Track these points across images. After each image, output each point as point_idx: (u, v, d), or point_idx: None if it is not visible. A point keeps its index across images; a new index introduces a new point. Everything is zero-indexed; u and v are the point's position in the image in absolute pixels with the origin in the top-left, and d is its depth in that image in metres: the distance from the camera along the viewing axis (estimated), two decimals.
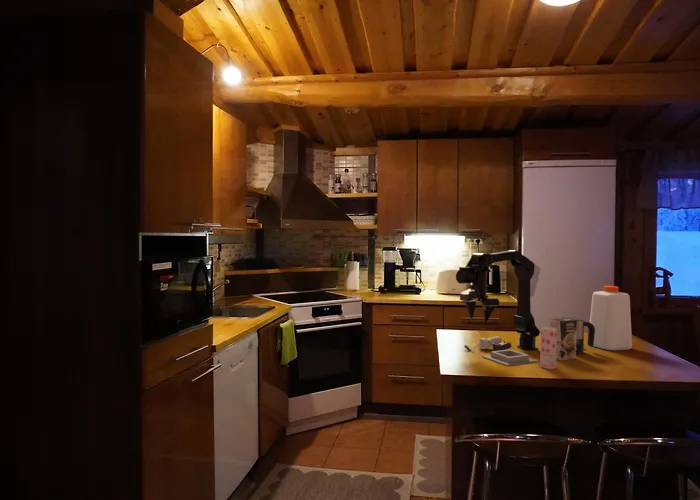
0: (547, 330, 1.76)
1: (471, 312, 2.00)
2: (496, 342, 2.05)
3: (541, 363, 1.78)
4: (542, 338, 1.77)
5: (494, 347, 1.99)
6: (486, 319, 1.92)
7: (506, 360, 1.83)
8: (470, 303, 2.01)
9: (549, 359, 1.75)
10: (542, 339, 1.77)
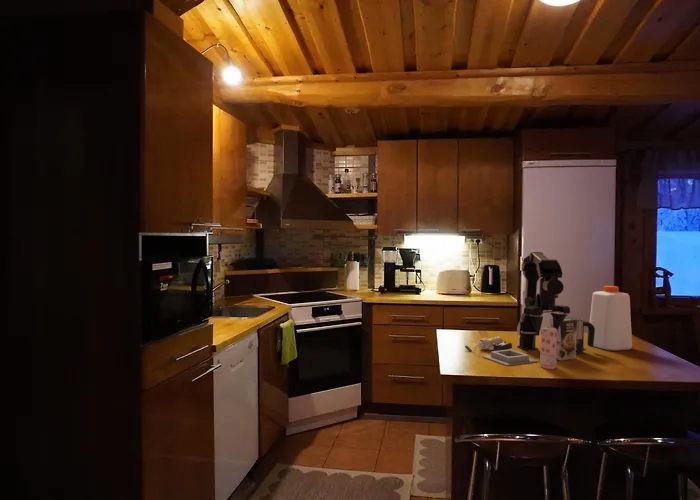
0: (547, 330, 1.76)
1: (554, 325, 1.80)
2: (497, 342, 2.04)
3: (541, 363, 1.78)
4: (542, 338, 1.77)
5: (495, 347, 1.98)
6: (536, 330, 1.76)
7: (506, 360, 1.83)
8: (555, 315, 1.81)
9: (549, 359, 1.75)
10: (542, 339, 1.77)
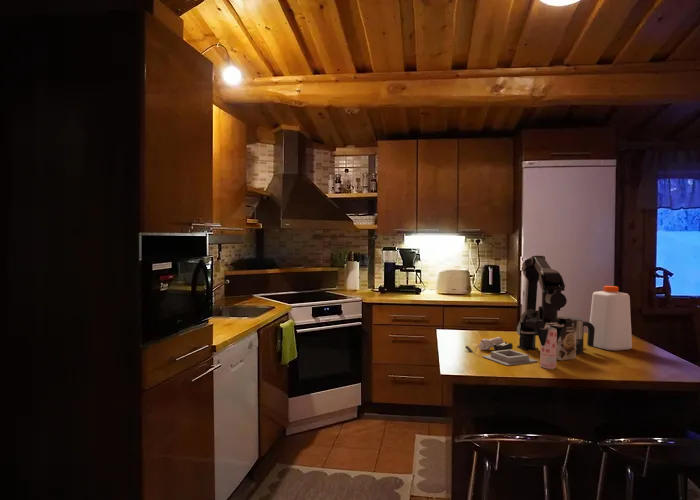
0: None
1: None
2: (497, 343, 2.03)
3: (541, 363, 1.78)
4: None
5: (495, 348, 1.97)
6: (541, 343, 1.77)
7: (506, 360, 1.83)
8: None
9: (549, 359, 1.75)
10: None
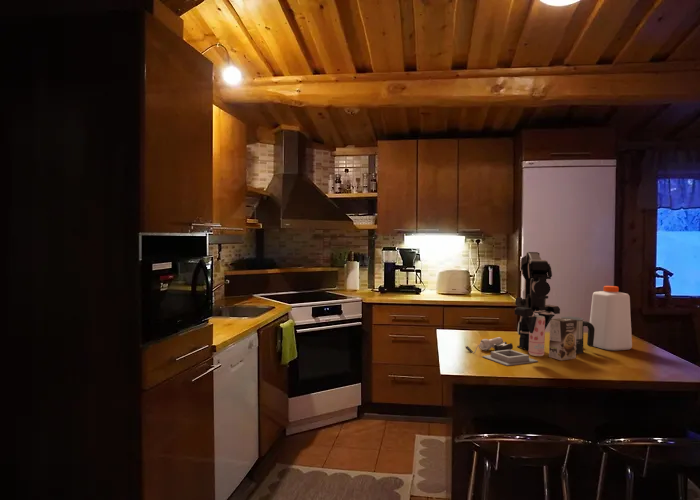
0: None
1: None
2: (498, 343, 2.03)
3: (529, 350, 1.81)
4: None
5: (496, 348, 1.97)
6: (530, 330, 1.80)
7: (506, 360, 1.83)
8: (542, 315, 1.83)
9: (538, 347, 1.79)
10: None
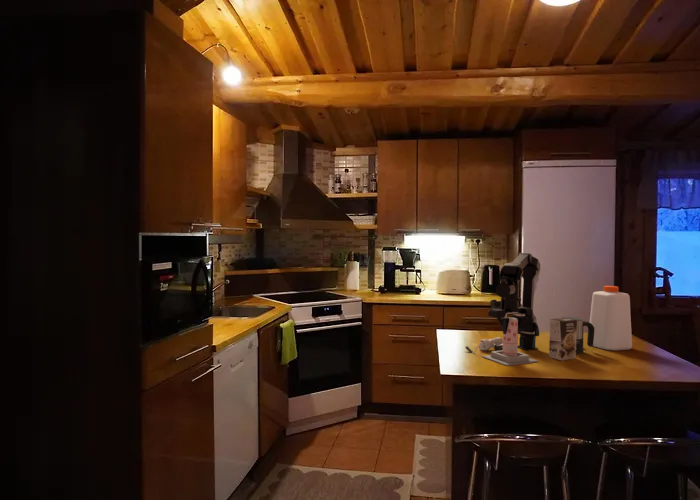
0: None
1: None
2: (497, 343, 2.03)
3: (503, 351, 1.88)
4: None
5: (495, 348, 1.97)
6: (503, 331, 1.87)
7: (506, 360, 1.83)
8: (516, 317, 1.90)
9: (510, 347, 1.86)
10: None
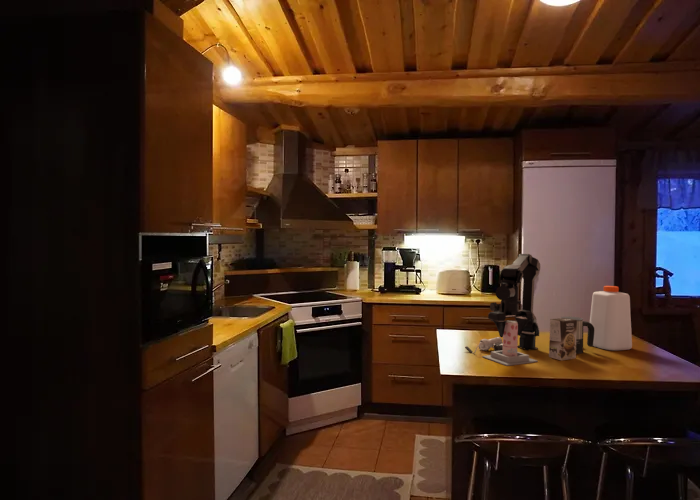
0: (508, 323, 1.86)
1: (518, 329, 1.90)
2: (497, 343, 2.03)
3: (503, 354, 1.88)
4: (504, 331, 1.88)
5: (495, 348, 1.97)
6: (500, 334, 1.86)
7: (506, 360, 1.83)
8: (519, 320, 1.90)
9: (510, 351, 1.86)
10: (504, 332, 1.88)
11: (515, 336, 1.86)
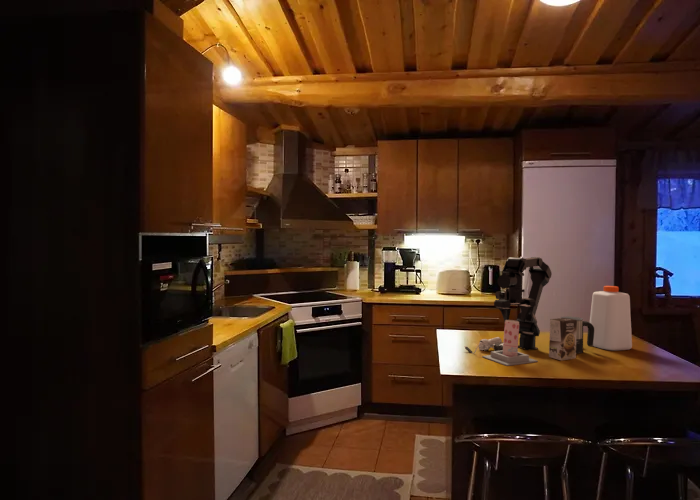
0: (510, 322, 1.87)
1: (522, 316, 2.01)
2: (496, 343, 2.03)
3: (503, 353, 1.88)
4: (505, 330, 1.88)
5: (495, 348, 1.97)
6: None
7: (506, 360, 1.83)
8: (523, 307, 2.02)
9: (511, 350, 1.86)
10: (505, 331, 1.88)
11: (516, 335, 1.86)
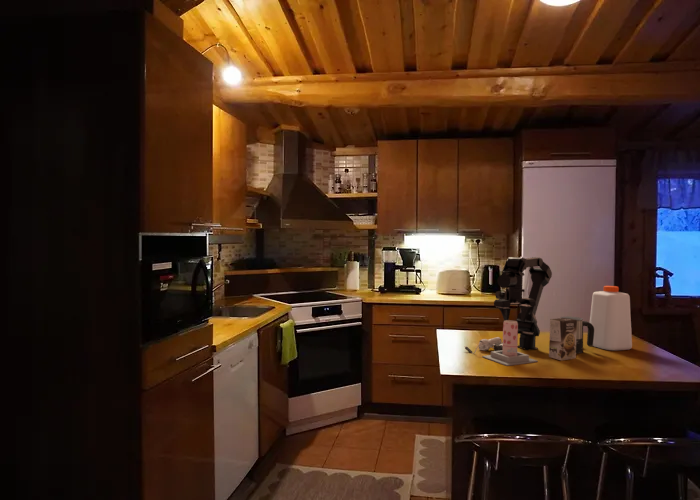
0: (508, 323, 1.86)
1: (522, 316, 2.01)
2: (496, 343, 2.03)
3: (503, 354, 1.88)
4: (504, 330, 1.88)
5: (495, 348, 1.97)
6: None
7: (506, 360, 1.83)
8: (523, 307, 2.02)
9: (510, 350, 1.86)
10: (504, 331, 1.88)
11: (515, 336, 1.86)
